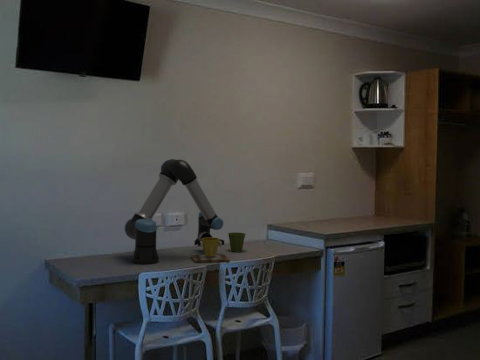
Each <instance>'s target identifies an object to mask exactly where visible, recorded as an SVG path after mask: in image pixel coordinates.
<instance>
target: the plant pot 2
mask: <svg viewBox="0 0 480 360" xmlns="http://www.w3.org/2000/svg"><path fill="white" fill-rule="evenodd" d="M227 235H228V239H229V245H230V251H231V252H235V253H240V252H243V248H244V247H243V246H244V242H245V238H246V235H247V233H245V232H236V231H235V232H227Z"/></svg>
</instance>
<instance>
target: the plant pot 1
mask: <svg viewBox="0 0 480 360" xmlns="http://www.w3.org/2000/svg"><path fill="white" fill-rule="evenodd" d="M219 239H220V238H219V237H215V236H212V237H208V238H202V239H201V242H202V243H203V247H202V249H203V253H204V254H203V255H205V256H216V255H217V252H218V248H219Z"/></svg>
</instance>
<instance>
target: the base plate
mask: <svg viewBox="0 0 480 360" xmlns="http://www.w3.org/2000/svg"><path fill="white" fill-rule="evenodd" d="M191 259H192V261H193V263H194V264H212V263H213V264H215V263H216V264H219V263H220V262H226V263H230V261H231V260H230V259H229V257H228V256H226V254H216V256H205V254H191Z"/></svg>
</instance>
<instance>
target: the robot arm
mask: <svg viewBox="0 0 480 360" xmlns="http://www.w3.org/2000/svg"><path fill="white" fill-rule="evenodd" d="M158 177H159V179H158V181H157V182H156V184H155V185H154V187H153V188H152V190H151V192H150V194H149V195H148V196H147V198H146V199H145V201H144V203H143V204H142V206H141V208H140V210H139V211H138V212H135V213H134V214H133V216H132V217H131V218H130V219H128V220H126V222H125V224H124V227H123V228H124V233H125V235H126V236H127V237H128V238H129V239H132V240H134V243H135V245H134V246H135V247H134V250H133V253H132V256H131V263H132V264H133V263H134V264H139V265H150V264H157V263H160V256H159V253H158V250H157V249H158V248H157V227H158V226H157V222H156V221H155V220H153V218H154V216H155V215H156V213H157V211H158V209H159V208H160V206H161V204H162V203H163V201H164V200H165V198H166V196H167V194H168V193H169V191H170V189H171V187H173V186H176V184H177V183H178V181H179V182H181V185H182V186H185V188H186V190H187V191H188V193H189V195H190V196H191V198H192V199H193V201H194V203H195V204H196V206H197V208H198V210H199V211H198V217H197V219H198V226H197V227H198V230H197V231H198V232H197V238H196V239H195V240H194V246H197V247H200V248H203V243H202V242H201V239H202V238H208V237H213V236H212V234H211V230H214V231H219V230H221V229H222V228H223V226H224V219H222V218H221V217H218V214H217V213H216V211H215V210H214V208H213V206H212V204H211V202H210V201H209V198H208V197H207V196H206V194H205V192H204V190H203V189H202V187H201V185H200V183H199V182H198V180H197V179H198V176H197V175H196V173H195V171H194V170H193V168H192V167H191V165H190V164H189V162H187V161H186V160H184V159H175V158H171V159H166V160H164V162H163V163H162V164H161V165H160V172H159V174H158ZM222 246H225V240H224V239H220V238H219V245H218V247H220V248H222Z"/></svg>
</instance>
